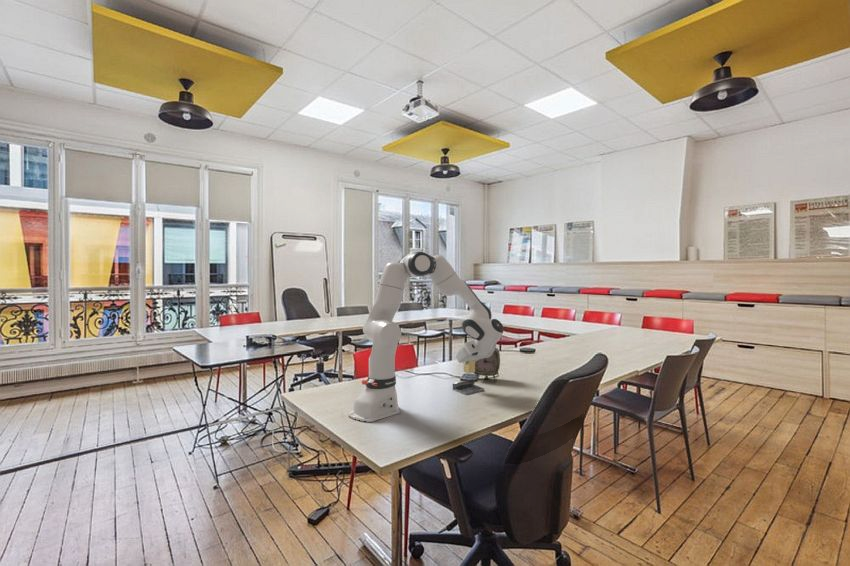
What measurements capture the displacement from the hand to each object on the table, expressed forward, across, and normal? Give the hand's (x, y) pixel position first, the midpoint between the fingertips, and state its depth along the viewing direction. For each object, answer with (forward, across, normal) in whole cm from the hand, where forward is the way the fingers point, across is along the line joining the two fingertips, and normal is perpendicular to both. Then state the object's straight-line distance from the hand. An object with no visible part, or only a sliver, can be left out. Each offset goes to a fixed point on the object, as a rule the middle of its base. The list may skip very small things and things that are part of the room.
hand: (468, 362), depth 195 cm
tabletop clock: (+16, -20, +4) cm, 26 cm away
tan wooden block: (+3, 0, +4) cm, 4 cm away
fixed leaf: (+10, 0, +10) cm, 14 cm away
